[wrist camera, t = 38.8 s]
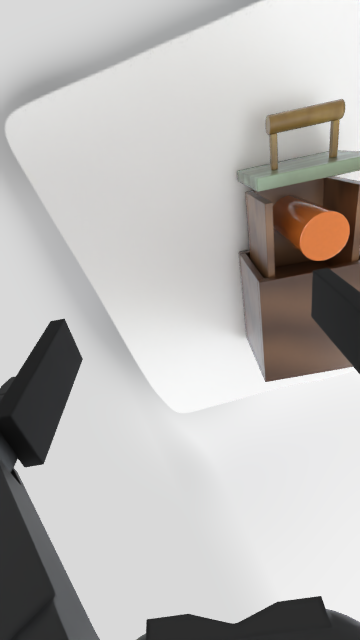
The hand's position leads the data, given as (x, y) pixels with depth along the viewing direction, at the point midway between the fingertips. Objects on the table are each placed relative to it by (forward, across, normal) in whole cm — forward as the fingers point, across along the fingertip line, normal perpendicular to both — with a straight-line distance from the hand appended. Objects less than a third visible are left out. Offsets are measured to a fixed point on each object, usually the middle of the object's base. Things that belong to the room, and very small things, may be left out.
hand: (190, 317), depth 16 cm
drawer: (+26, -14, +1) cm, 29 cm away
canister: (+25, -14, +2) cm, 28 cm away
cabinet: (+27, -14, +14) cm, 33 cm away
